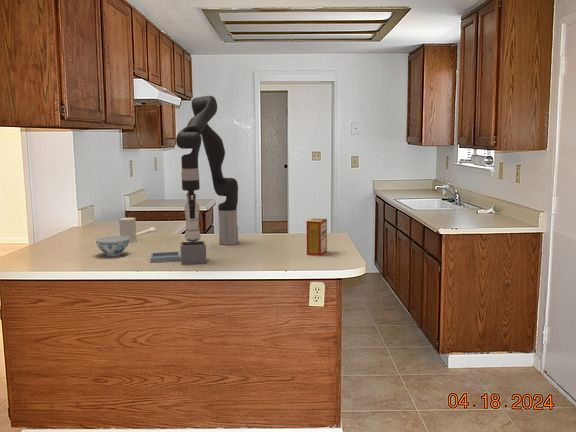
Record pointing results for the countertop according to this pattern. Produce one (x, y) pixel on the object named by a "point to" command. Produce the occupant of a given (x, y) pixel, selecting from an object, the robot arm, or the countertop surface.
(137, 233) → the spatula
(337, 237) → the countertop surface
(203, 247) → the holder
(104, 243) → the chinaware
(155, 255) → the tray
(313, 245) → the baking soda box
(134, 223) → the cup
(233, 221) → the robot arm
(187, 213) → the plastic bottle
